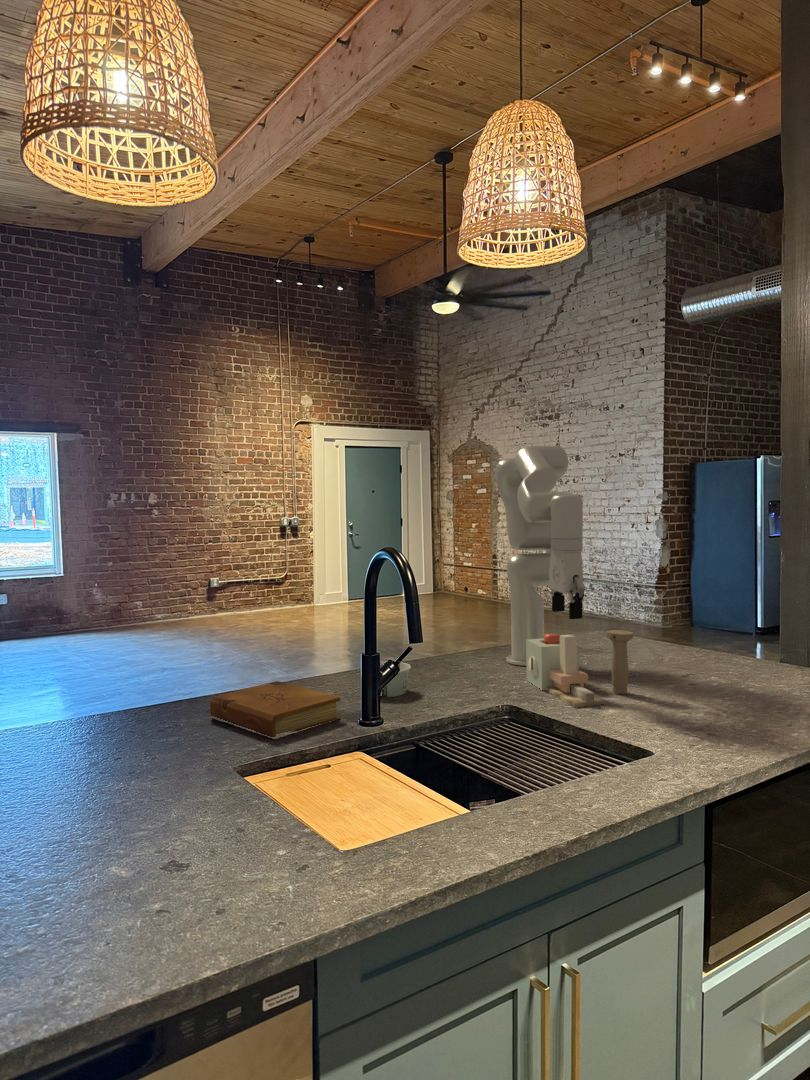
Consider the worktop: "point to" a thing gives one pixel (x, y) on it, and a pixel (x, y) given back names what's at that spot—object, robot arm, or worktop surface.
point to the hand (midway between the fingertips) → (566, 614)
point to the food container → (397, 682)
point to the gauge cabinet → (543, 662)
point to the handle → (619, 659)
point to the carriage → (568, 666)
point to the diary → (275, 708)
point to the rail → (577, 696)
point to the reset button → (551, 638)
